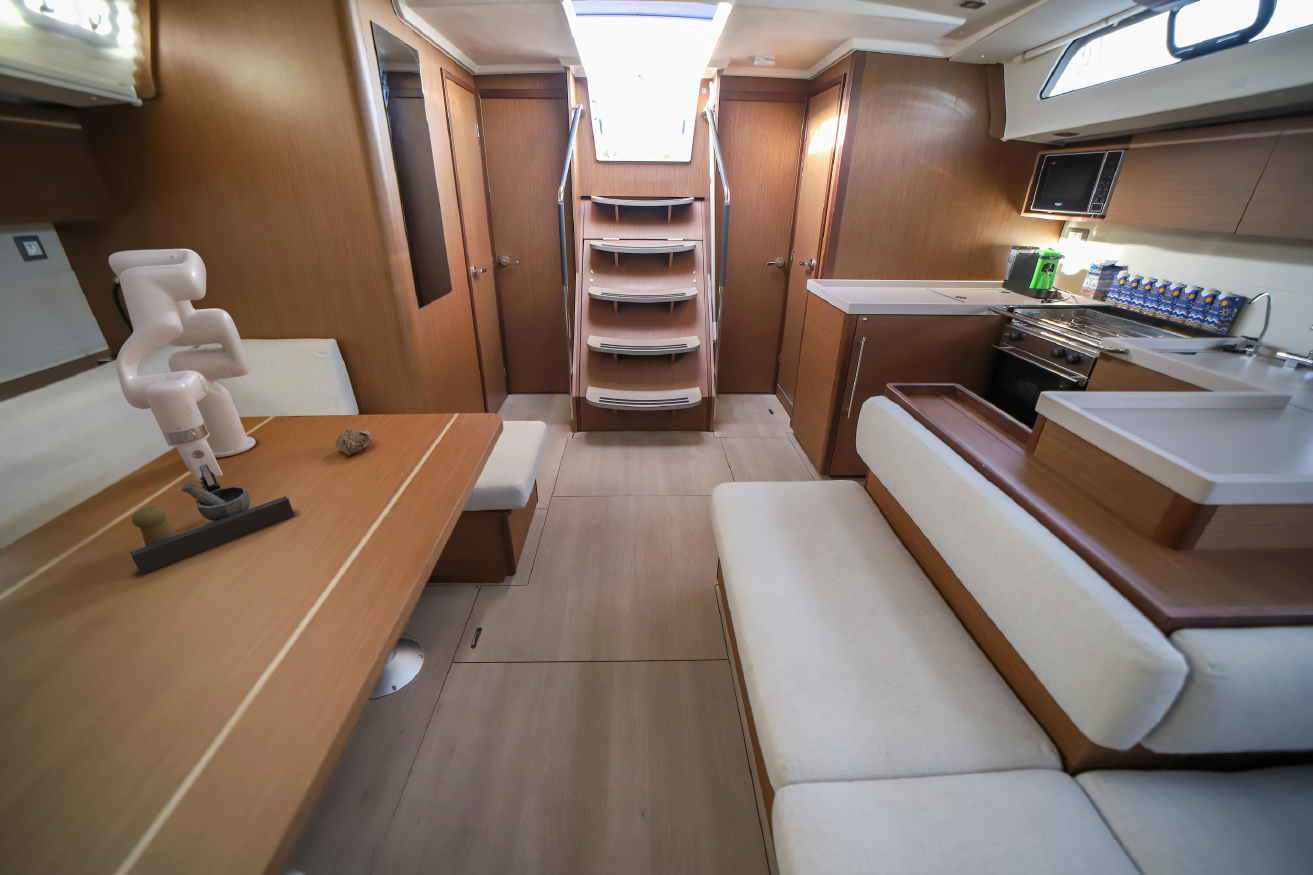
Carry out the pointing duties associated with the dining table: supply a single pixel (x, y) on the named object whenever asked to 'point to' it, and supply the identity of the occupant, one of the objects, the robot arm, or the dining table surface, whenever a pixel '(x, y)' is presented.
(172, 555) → the backstop rail
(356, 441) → the rough grey rock
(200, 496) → the mortar and pestle
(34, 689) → the dining table surface
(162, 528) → the cork
